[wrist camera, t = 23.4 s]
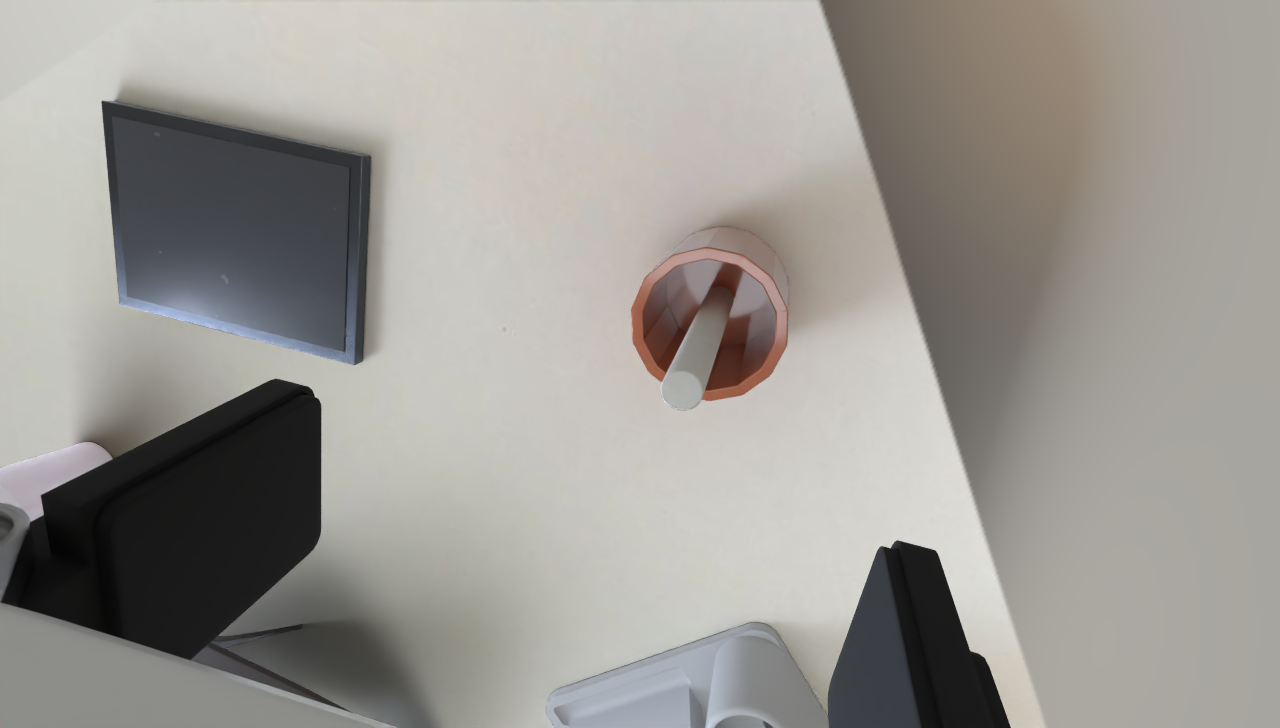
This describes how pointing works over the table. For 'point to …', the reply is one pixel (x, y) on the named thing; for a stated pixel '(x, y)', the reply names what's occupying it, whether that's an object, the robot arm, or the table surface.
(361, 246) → the tablet
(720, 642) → the phone holder
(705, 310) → the stylus
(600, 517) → the table surface
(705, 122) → the table surface
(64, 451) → the smoothie
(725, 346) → the pencil cup
